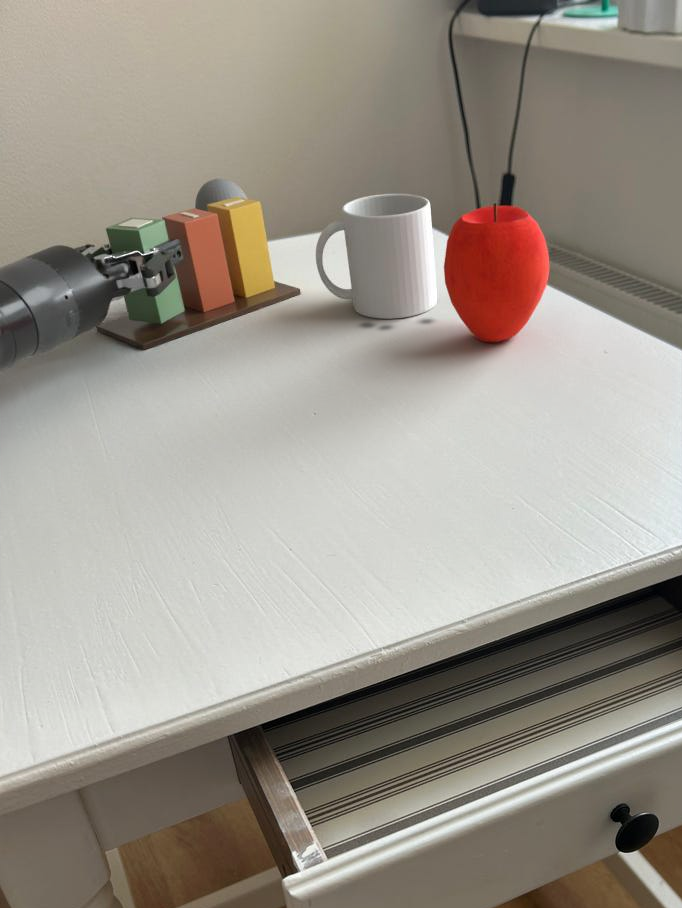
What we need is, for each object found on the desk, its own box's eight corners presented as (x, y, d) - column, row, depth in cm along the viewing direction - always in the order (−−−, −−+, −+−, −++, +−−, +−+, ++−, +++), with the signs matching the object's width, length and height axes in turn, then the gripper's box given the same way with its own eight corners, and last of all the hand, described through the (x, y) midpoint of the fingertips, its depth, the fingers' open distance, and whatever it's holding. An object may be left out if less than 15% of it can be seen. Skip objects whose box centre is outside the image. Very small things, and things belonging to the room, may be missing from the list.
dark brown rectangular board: (96, 331, 102) (95, 325, 101) (251, 279, 113) (250, 273, 112) (144, 350, 97) (143, 344, 96) (301, 293, 108) (300, 288, 108)
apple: (550, 355, 91) (549, 217, 83) (444, 358, 91) (434, 221, 84) (549, 317, 99) (548, 187, 91) (452, 320, 99) (443, 191, 92)
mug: (451, 295, 105) (444, 196, 99) (409, 325, 99) (400, 221, 92) (364, 285, 109) (353, 189, 103) (318, 314, 102) (303, 213, 96)
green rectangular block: (129, 320, 100) (105, 227, 95) (153, 307, 103) (131, 216, 98) (161, 323, 99) (138, 229, 93) (185, 310, 102) (164, 218, 96)
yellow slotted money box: (224, 291, 108) (206, 203, 102) (253, 281, 110) (237, 195, 105) (246, 298, 106) (229, 209, 100) (275, 288, 108) (260, 200, 102)
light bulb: (244, 259, 119) (227, 170, 113) (269, 269, 116) (253, 178, 109) (200, 270, 116) (180, 180, 110) (224, 281, 113) (205, 188, 106)
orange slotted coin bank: (182, 305, 105) (161, 216, 99) (212, 294, 107) (194, 207, 102) (203, 312, 103) (183, 221, 97) (234, 302, 105) (216, 212, 99)
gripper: (93, 264, 82) (210, 212, 95) (-34, 253, 87) (94, 204, 99) (117, 351, 87) (226, 290, 99) (-5, 336, 92) (114, 279, 104)
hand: (159, 247), depth 99 cm, fingers closed on green rectangular block, 4 cm apart
